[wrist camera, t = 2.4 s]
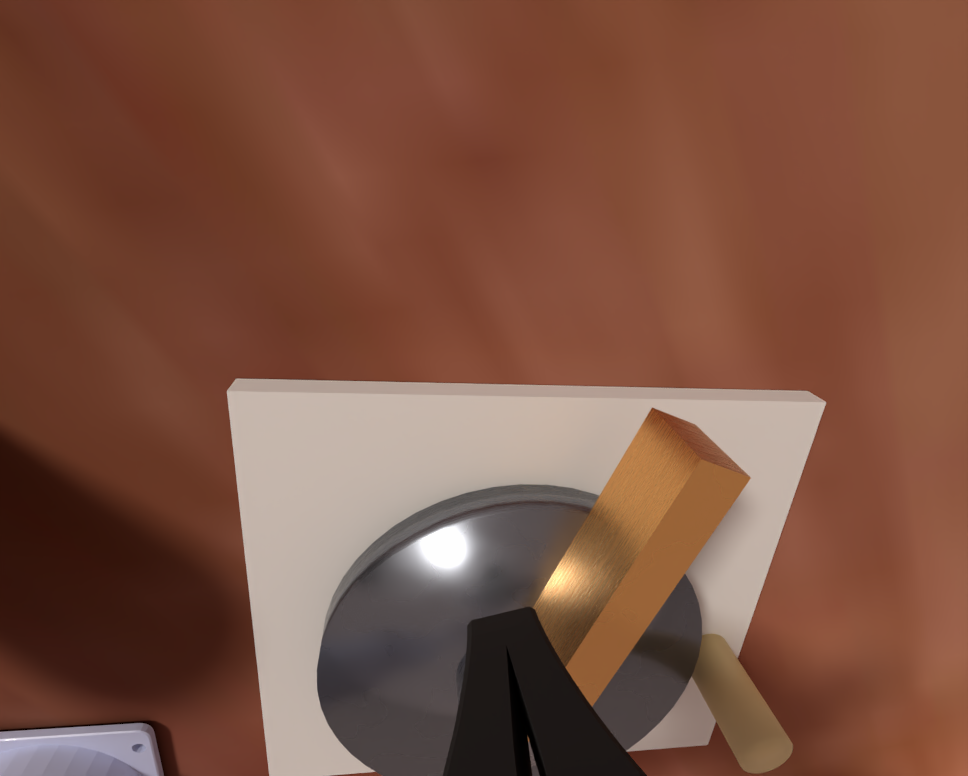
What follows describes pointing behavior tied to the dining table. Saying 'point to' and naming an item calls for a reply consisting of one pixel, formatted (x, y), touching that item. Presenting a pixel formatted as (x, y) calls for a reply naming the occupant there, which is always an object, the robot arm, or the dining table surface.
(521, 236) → the dining table surface
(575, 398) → the base board
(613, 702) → the dial
